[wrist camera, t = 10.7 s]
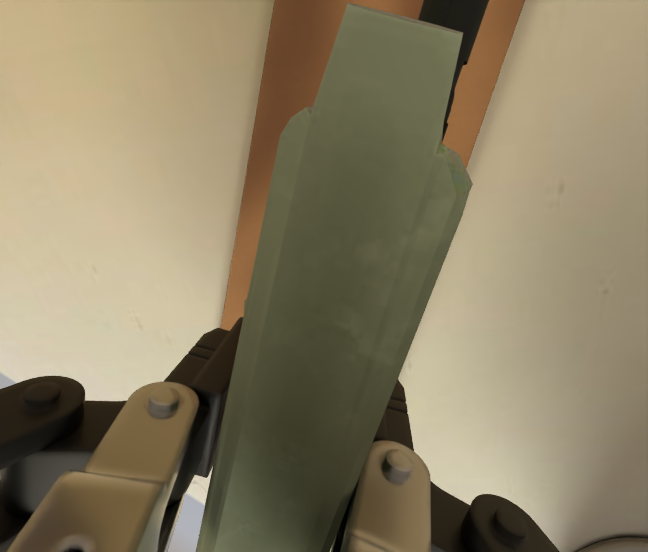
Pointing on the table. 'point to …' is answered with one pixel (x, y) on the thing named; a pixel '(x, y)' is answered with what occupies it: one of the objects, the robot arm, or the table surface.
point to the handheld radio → (340, 277)
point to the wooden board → (302, 88)
